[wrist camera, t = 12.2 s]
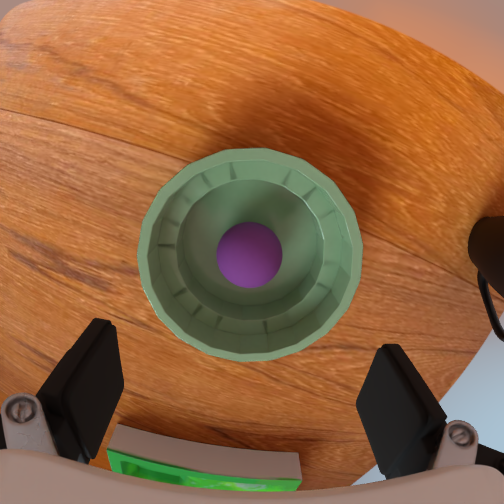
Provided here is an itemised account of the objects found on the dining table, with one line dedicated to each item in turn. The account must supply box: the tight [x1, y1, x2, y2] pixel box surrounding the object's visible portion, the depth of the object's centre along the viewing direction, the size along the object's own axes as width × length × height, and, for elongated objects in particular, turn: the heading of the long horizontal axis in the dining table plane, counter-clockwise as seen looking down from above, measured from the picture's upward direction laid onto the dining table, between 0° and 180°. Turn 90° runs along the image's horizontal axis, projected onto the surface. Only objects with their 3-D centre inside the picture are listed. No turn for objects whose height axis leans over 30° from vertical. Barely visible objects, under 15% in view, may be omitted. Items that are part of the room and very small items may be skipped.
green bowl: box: [137, 148, 363, 362], centre depth 23 cm, size 16×16×6 cm
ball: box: [216, 222, 283, 288], centre depth 23 cm, size 5×5×5 cm
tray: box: [107, 423, 302, 492], centre depth 36 cm, size 25×25×5 cm
